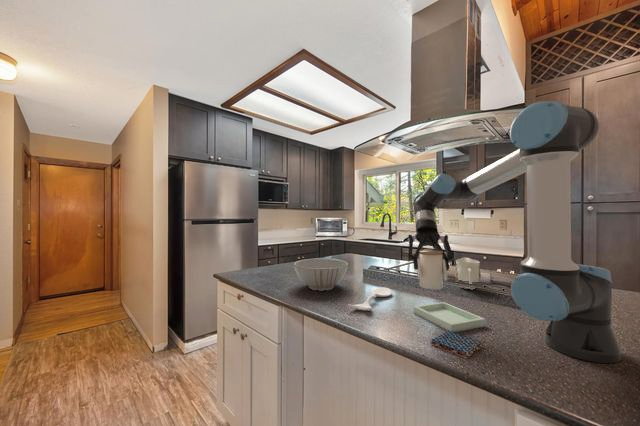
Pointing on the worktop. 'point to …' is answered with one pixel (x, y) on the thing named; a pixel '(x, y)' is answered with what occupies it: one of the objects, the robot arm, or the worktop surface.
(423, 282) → the canister
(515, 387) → the worktop surface
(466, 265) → the pitcher
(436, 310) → the tray
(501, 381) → the worktop surface
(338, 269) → the decorative bowl
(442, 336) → the woven mat
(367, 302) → the spoon
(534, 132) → the robot arm
